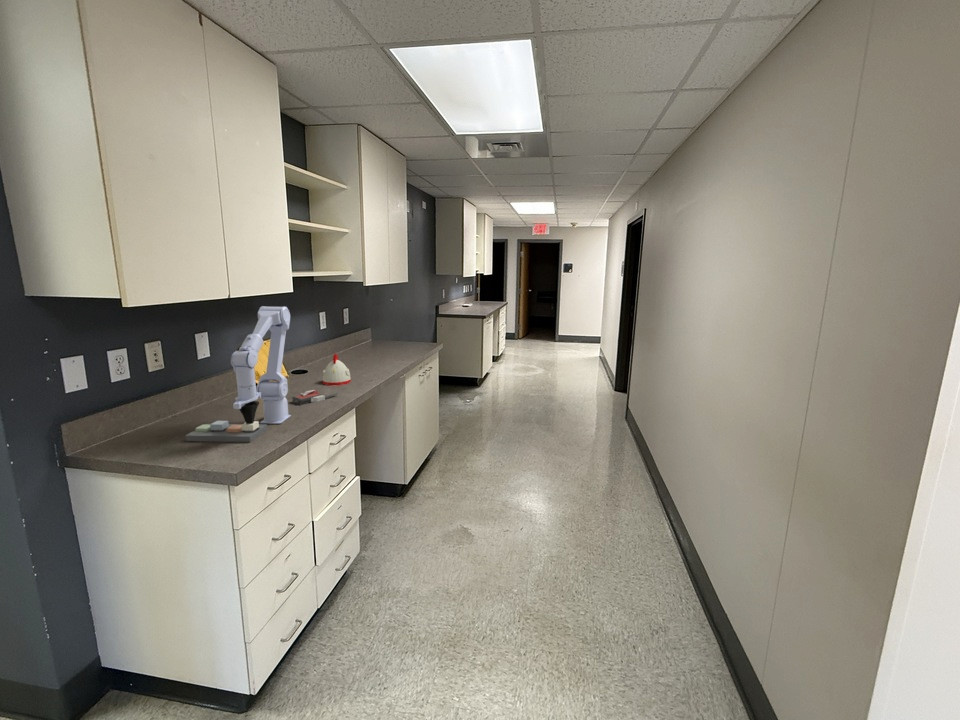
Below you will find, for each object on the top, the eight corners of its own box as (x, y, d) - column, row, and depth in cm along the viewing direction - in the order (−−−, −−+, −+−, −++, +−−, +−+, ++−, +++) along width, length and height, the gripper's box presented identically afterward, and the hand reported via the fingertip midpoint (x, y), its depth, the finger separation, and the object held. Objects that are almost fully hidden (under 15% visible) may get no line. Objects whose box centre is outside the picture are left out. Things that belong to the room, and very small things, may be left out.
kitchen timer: (319, 385, 224) (318, 356, 222) (326, 379, 238) (324, 351, 235) (348, 385, 226) (346, 356, 223) (352, 379, 239) (351, 351, 236)
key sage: (203, 432, 159) (202, 424, 158) (214, 432, 159) (213, 424, 158) (196, 436, 155) (195, 428, 154) (207, 436, 155) (206, 428, 154)
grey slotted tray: (207, 428, 162) (207, 423, 162) (267, 429, 162) (267, 424, 162) (186, 441, 151) (185, 435, 150) (250, 442, 151) (250, 436, 150)
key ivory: (248, 429, 158) (247, 421, 158) (259, 429, 158) (258, 421, 157) (242, 433, 154) (241, 424, 154) (253, 433, 154) (252, 425, 154)
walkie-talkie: (301, 407, 190) (339, 396, 207) (300, 397, 190) (339, 387, 206) (289, 403, 195) (327, 393, 212) (288, 393, 194) (326, 384, 211)
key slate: (217, 428, 158) (217, 420, 158) (229, 428, 158) (228, 420, 158) (211, 432, 154) (210, 424, 154) (222, 432, 154) (221, 424, 154)
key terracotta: (233, 432, 158) (232, 424, 158) (244, 433, 158) (243, 425, 158) (227, 437, 155) (226, 428, 154) (238, 437, 154) (237, 429, 154)
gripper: (246, 380, 160) (249, 416, 163) (222, 390, 146) (226, 429, 148) (265, 380, 160) (268, 416, 163) (244, 390, 146) (247, 430, 148)
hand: (249, 422), depth 155 cm, fingers closed
